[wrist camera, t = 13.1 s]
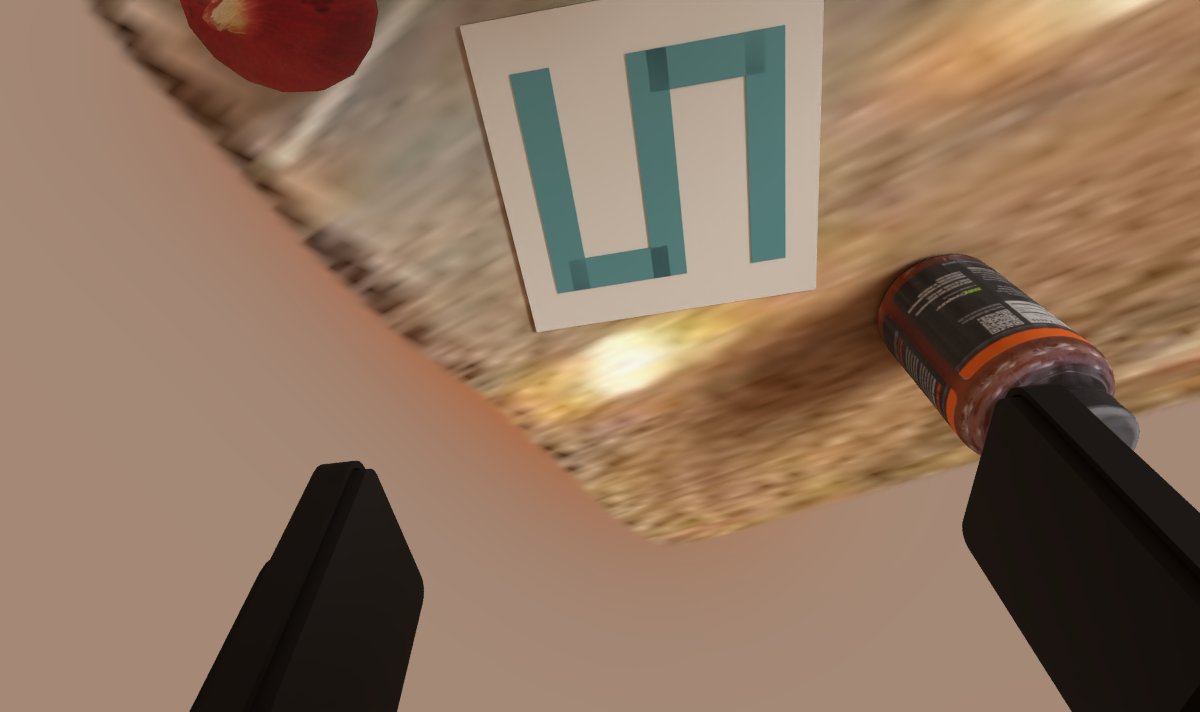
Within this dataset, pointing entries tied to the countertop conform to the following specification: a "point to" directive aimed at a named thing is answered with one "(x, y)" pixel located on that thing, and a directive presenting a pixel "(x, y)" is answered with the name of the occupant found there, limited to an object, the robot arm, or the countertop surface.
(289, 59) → the onion
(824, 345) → the countertop surface
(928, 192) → the countertop surface
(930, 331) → the supplement bottle
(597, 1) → the letter board
